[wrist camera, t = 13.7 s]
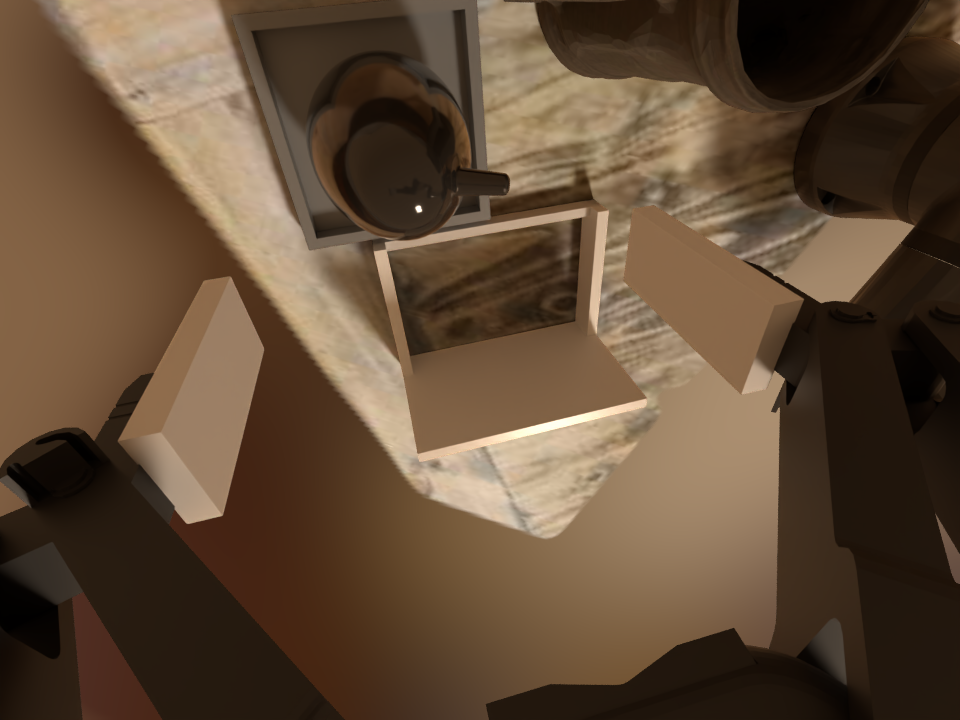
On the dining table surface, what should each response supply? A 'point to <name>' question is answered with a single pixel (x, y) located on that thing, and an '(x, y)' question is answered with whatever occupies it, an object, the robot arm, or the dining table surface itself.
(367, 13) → the tray
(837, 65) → the beer stein
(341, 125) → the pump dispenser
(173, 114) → the dining table surface
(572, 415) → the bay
